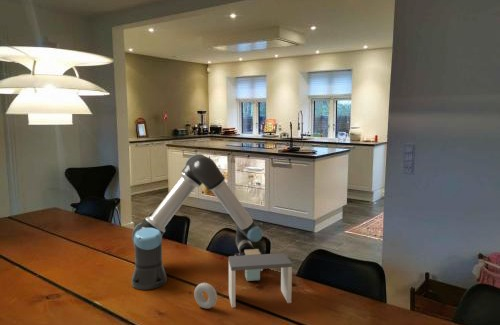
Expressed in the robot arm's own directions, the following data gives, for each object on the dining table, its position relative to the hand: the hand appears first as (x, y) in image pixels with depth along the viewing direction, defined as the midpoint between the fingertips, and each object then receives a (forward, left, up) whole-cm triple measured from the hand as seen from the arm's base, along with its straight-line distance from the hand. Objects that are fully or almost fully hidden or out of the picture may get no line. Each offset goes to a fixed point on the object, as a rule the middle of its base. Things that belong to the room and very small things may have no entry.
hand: (254, 268), depth 159 cm
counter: (0, -12, -7) cm, 15 cm away
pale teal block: (0, +5, -6) cm, 8 cm away
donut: (-22, -16, -8) cm, 29 cm away
